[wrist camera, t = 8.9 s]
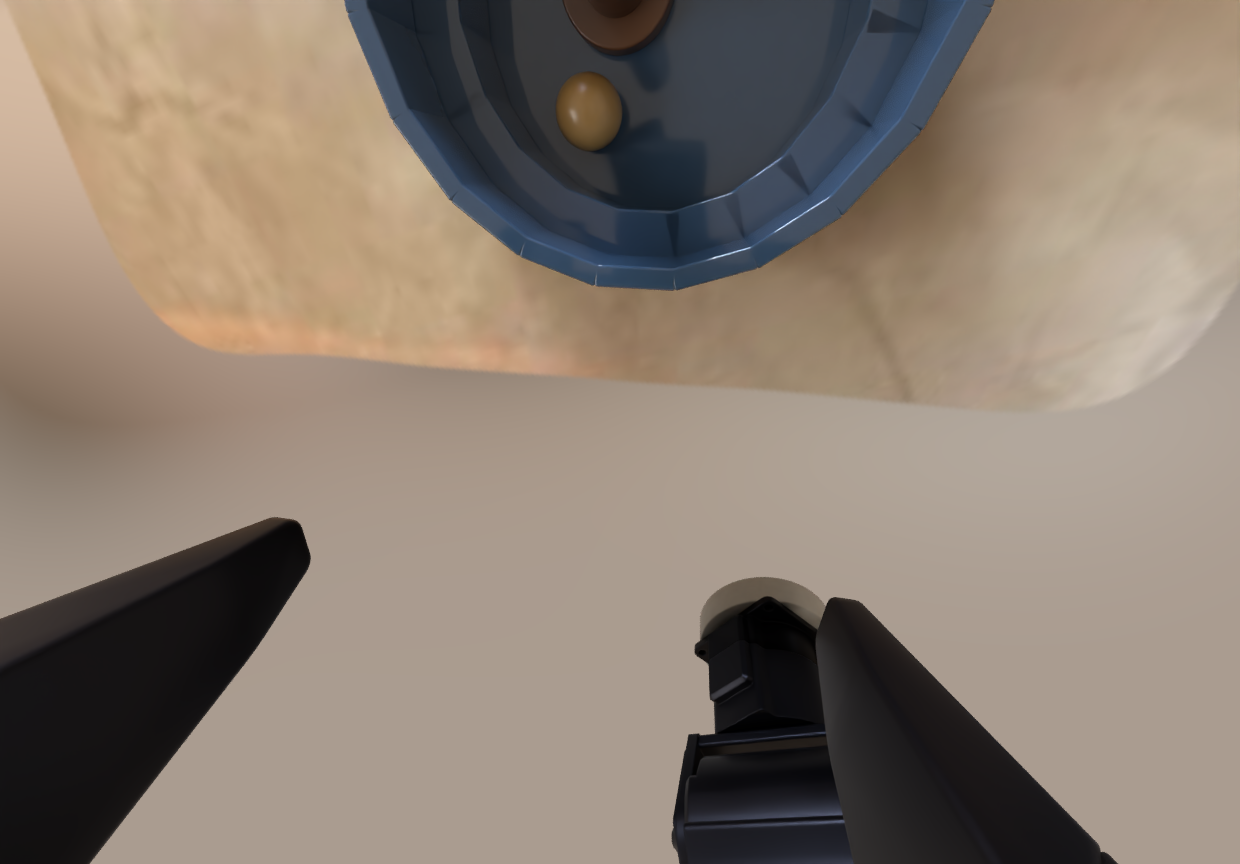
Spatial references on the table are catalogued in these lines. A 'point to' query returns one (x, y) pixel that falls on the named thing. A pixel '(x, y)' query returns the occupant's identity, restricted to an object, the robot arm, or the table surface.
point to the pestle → (618, 23)
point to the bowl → (664, 123)
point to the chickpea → (588, 111)
